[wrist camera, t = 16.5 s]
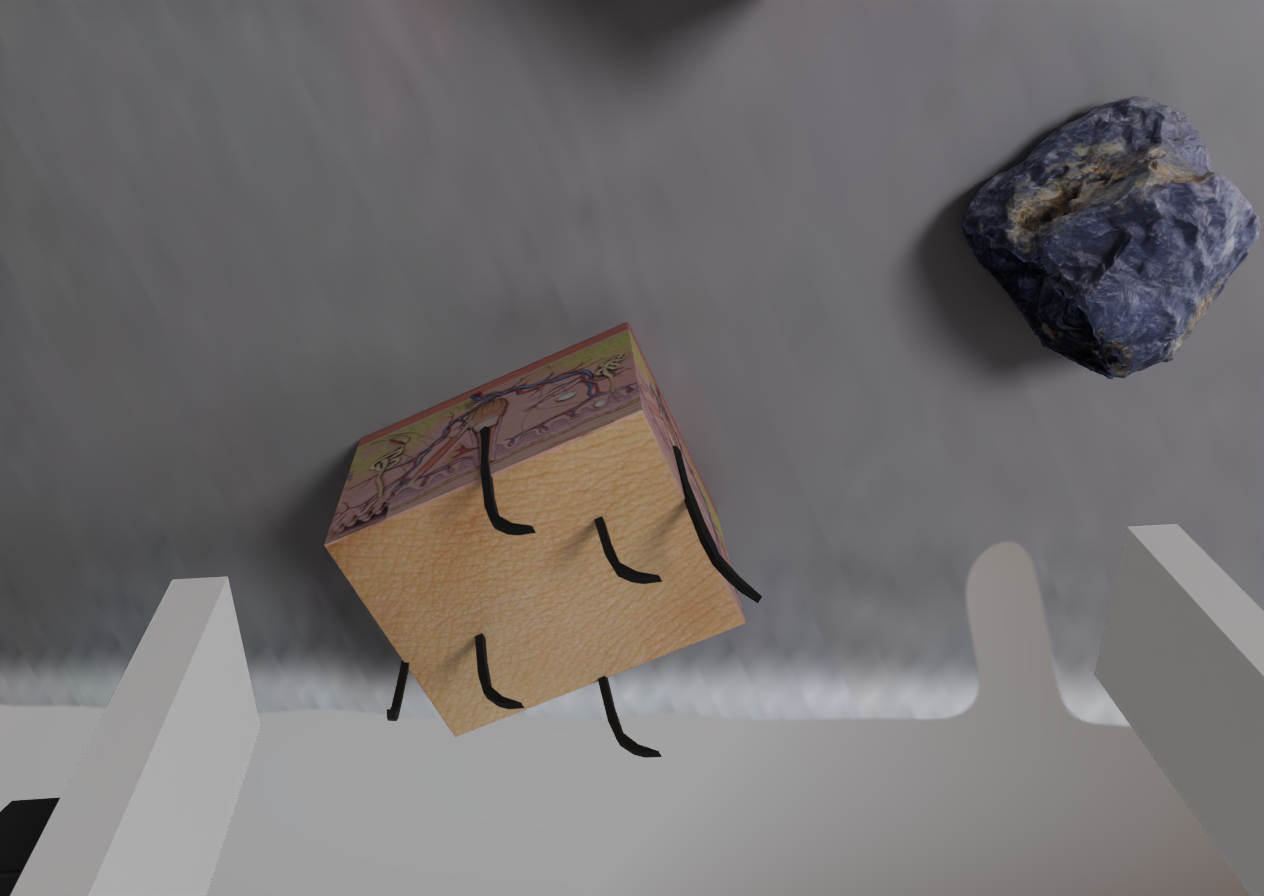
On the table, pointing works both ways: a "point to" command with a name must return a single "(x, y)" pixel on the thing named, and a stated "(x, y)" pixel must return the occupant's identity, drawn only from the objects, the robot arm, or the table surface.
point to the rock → (1113, 235)
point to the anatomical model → (536, 537)
